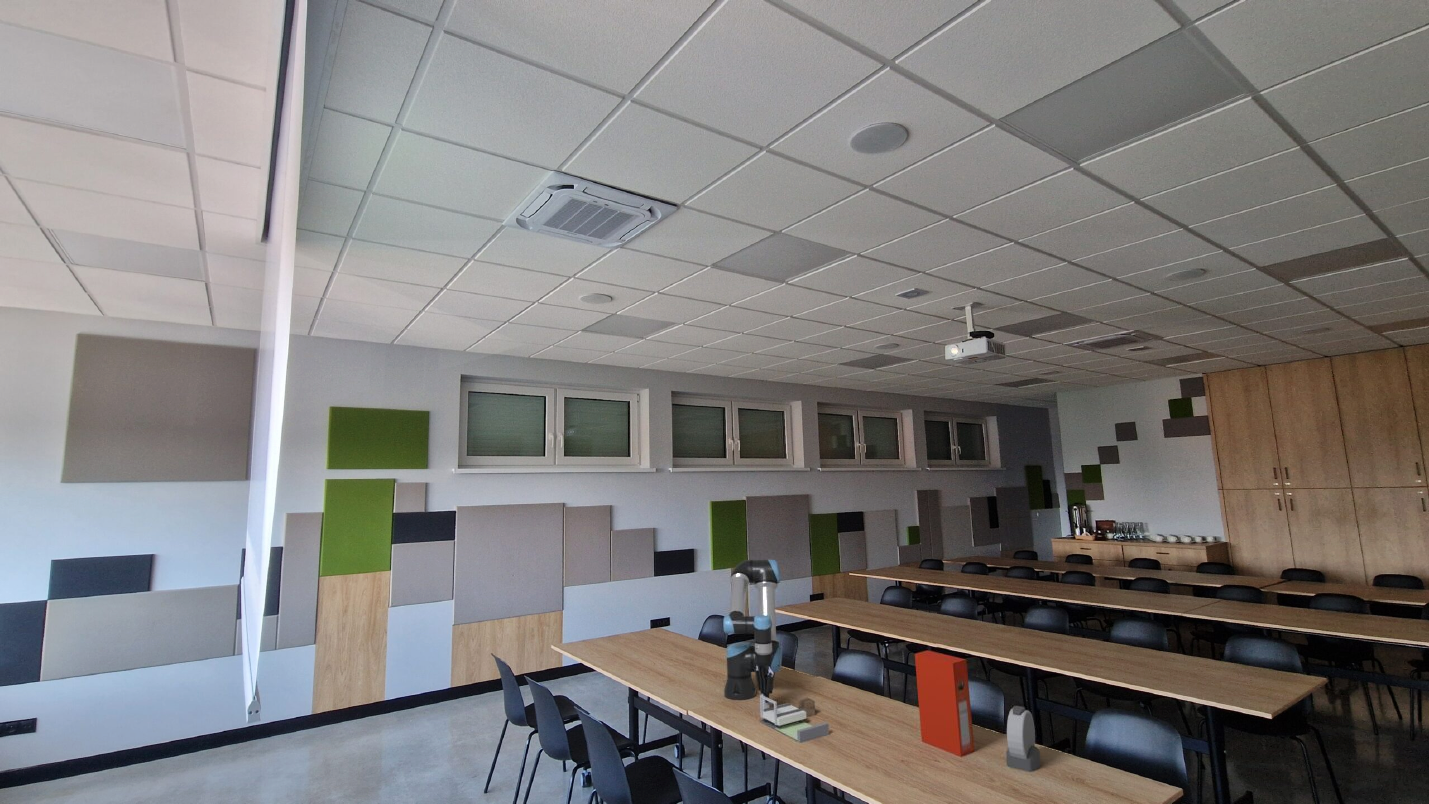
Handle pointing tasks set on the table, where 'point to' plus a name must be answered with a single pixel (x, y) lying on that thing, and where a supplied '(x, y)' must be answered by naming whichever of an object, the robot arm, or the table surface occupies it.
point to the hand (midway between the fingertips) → (765, 709)
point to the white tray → (781, 713)
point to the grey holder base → (800, 730)
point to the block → (807, 706)
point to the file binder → (944, 702)
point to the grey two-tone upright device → (1021, 741)
